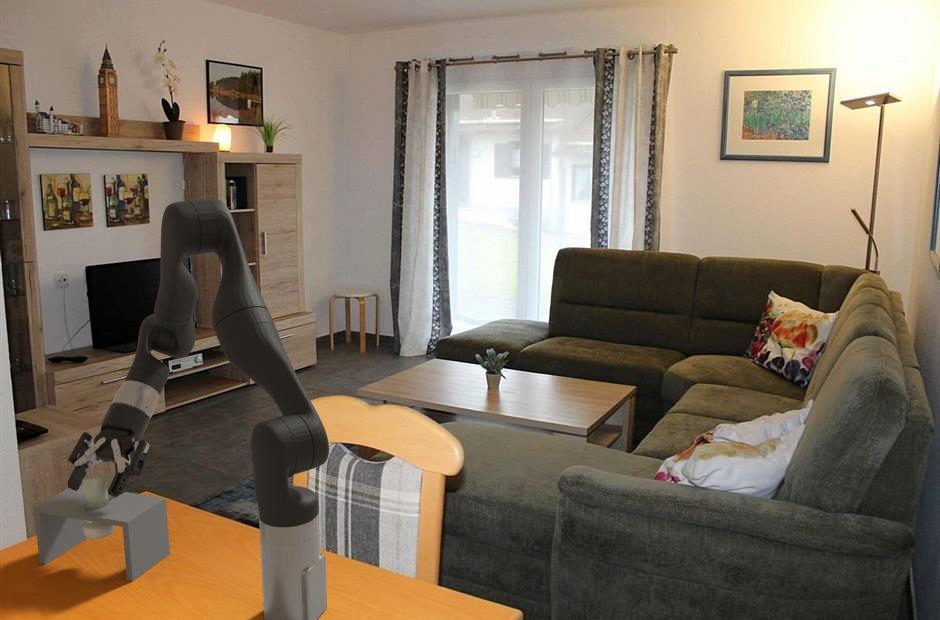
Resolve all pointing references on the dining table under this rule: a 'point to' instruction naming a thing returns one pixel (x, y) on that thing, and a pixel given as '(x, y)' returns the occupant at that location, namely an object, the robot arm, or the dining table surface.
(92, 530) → the wine glass
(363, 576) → the dining table surface
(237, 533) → the dining table surface
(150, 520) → the slotted rack
